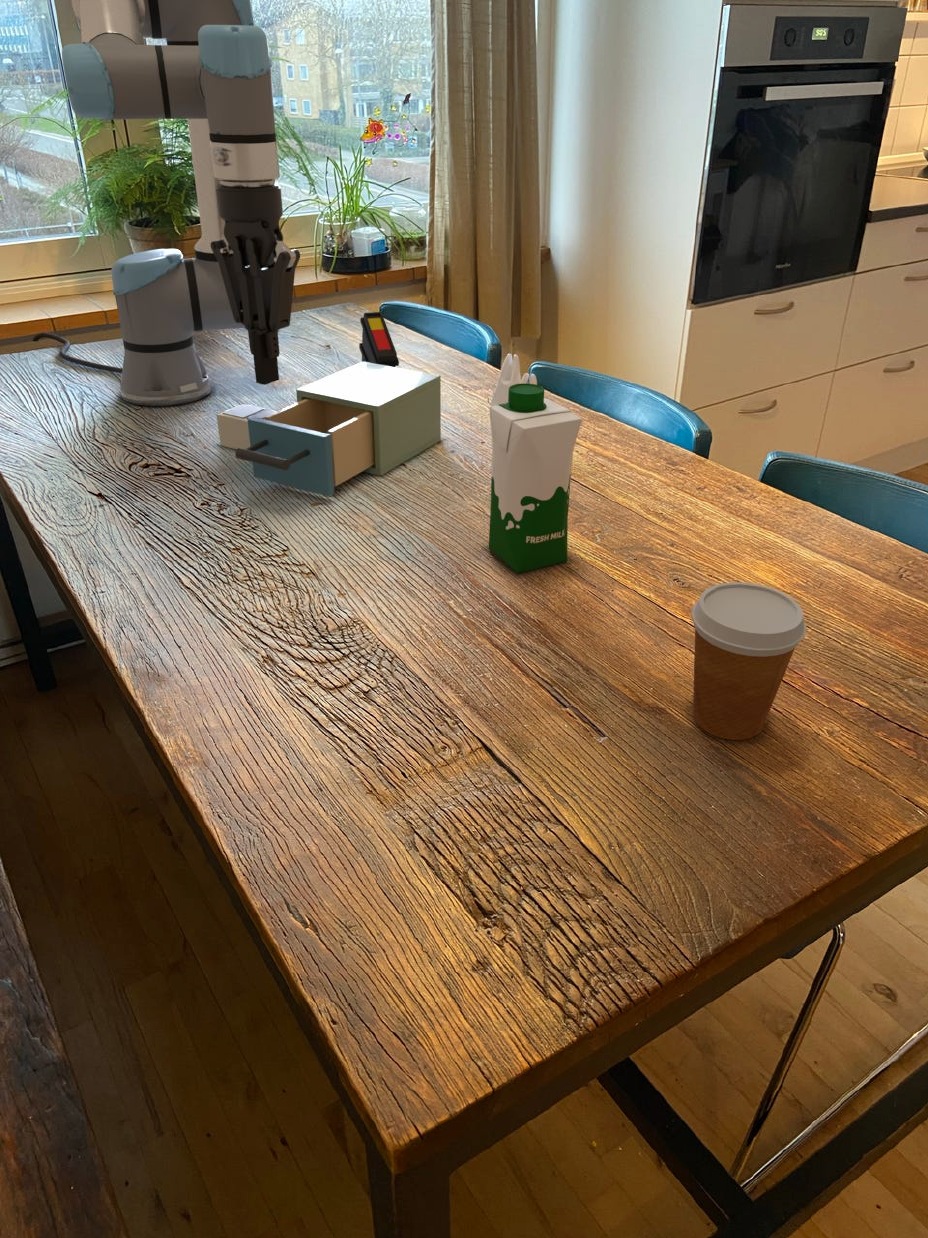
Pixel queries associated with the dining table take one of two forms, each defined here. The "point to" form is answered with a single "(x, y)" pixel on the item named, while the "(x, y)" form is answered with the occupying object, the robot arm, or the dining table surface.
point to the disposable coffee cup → (741, 655)
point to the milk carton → (531, 478)
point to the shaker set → (509, 380)
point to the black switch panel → (377, 341)
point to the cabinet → (387, 407)
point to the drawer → (311, 445)
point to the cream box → (238, 424)
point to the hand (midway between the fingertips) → (267, 380)
